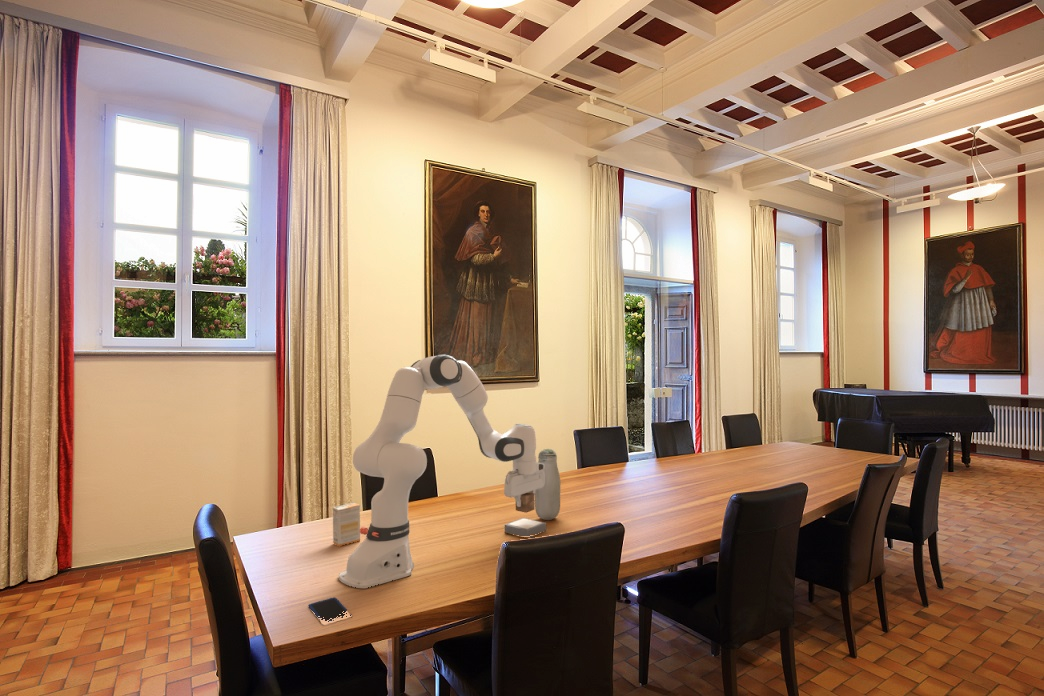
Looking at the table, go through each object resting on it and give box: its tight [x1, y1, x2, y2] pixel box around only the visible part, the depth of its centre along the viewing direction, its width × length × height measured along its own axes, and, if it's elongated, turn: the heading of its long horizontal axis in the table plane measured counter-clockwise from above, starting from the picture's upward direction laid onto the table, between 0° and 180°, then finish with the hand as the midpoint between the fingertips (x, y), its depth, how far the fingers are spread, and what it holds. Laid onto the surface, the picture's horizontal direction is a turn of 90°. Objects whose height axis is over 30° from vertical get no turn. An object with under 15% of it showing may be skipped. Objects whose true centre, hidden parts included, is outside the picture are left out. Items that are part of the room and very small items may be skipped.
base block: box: [504, 517, 547, 539], centre depth 200 cm, size 11×11×3 cm
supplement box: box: [332, 502, 361, 547], centre depth 190 cm, size 8×5×13 cm, turn 135°
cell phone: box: [308, 596, 352, 622], centre depth 138 cm, size 7×14×1 cm, turn 37°
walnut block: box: [515, 492, 535, 514], centre depth 200 cm, size 5×5×6 cm
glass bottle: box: [534, 448, 561, 521], centre depth 216 cm, size 10×10×28 cm
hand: (525, 504), depth 200 cm, fingers closed on walnut block, 5 cm apart
